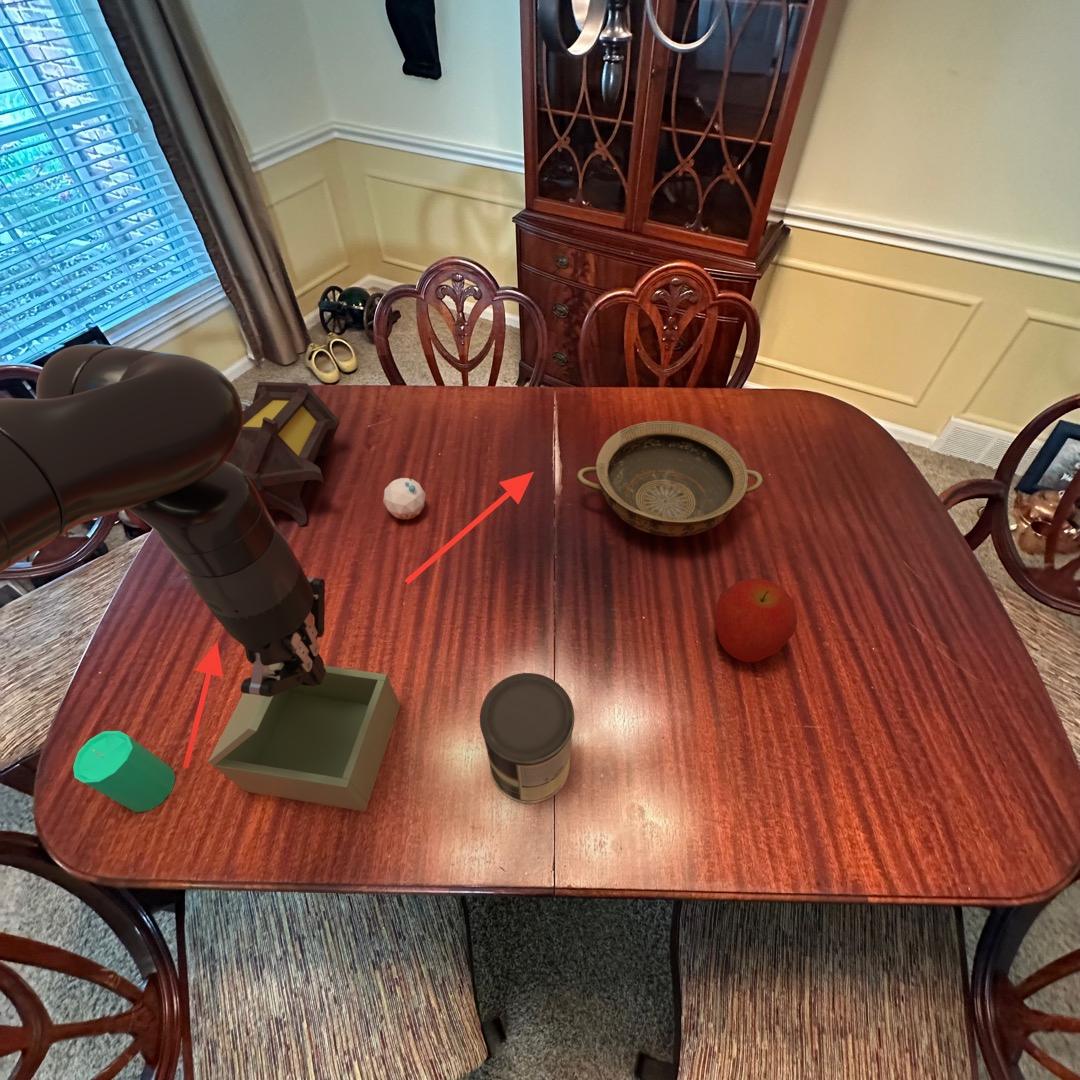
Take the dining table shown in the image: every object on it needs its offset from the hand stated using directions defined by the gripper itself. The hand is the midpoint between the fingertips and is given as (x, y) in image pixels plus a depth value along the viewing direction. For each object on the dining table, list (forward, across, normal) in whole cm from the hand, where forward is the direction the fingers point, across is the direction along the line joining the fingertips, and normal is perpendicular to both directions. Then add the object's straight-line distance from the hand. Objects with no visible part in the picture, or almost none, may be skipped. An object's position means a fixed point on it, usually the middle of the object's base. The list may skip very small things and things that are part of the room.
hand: (314, 677), depth 62 cm
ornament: (+21, +41, +7) cm, 47 cm away
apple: (+21, +23, -49) cm, 58 cm away
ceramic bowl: (+21, +48, -37) cm, 64 cm away
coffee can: (+21, +2, -22) cm, 30 cm away
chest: (+20, 0, +5) cm, 21 cm away
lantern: (+21, +43, +30) cm, 56 cm away
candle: (+21, -8, +25) cm, 33 cm away
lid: (+5, 0, +7) cm, 9 cm away
